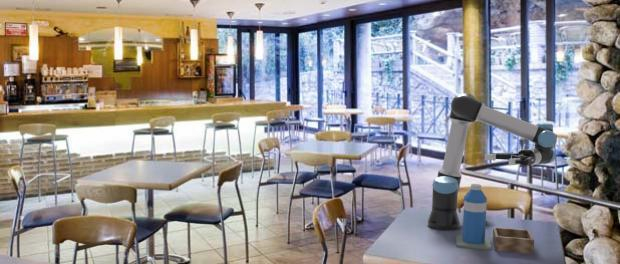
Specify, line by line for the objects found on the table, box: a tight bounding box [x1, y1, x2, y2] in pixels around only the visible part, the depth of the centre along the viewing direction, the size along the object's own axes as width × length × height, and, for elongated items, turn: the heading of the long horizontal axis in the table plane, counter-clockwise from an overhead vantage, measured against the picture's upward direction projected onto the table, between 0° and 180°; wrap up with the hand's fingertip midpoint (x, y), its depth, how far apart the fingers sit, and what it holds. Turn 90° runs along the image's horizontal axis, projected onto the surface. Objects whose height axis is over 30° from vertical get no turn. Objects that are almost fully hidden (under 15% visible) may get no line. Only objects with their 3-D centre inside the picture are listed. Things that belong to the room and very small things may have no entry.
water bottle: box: [461, 183, 488, 244], centre depth 234 cm, size 9×9×25 cm
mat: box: [456, 235, 492, 251], centre depth 235 cm, size 14×14×1 cm
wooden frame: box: [492, 226, 535, 255], centre depth 231 cm, size 15×15×6 cm
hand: (497, 159), depth 241 cm, fingers open, 13 cm apart
